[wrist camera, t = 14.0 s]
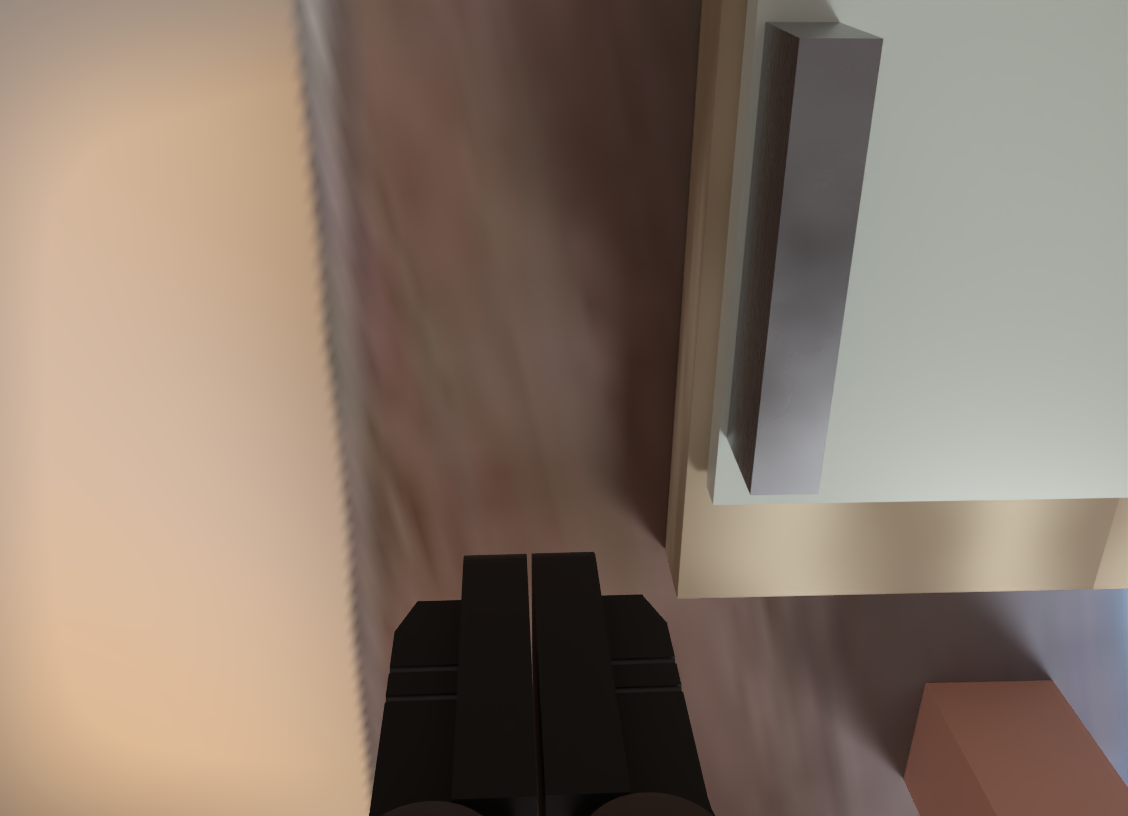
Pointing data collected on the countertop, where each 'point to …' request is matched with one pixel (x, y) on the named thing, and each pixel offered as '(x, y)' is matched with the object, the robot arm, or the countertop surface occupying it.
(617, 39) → the countertop surface
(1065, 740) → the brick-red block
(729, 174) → the board
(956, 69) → the cover
